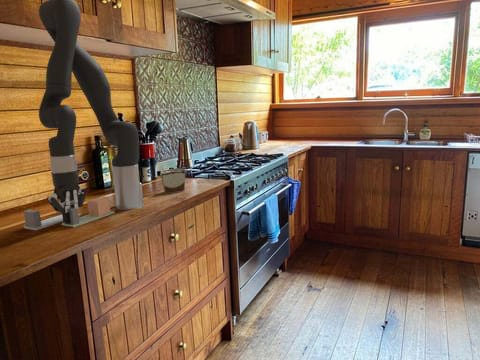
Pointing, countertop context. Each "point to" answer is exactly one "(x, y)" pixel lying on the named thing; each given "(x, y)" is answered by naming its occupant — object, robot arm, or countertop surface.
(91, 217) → the block strip
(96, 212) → the block
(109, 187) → the countertop surface
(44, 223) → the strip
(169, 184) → the food container
